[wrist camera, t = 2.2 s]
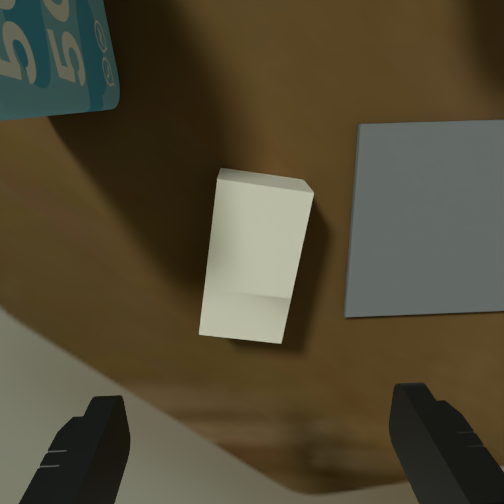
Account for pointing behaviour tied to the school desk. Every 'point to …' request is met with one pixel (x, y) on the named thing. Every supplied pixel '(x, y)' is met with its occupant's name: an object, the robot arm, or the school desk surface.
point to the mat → (427, 219)
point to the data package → (55, 58)
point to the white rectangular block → (253, 254)
